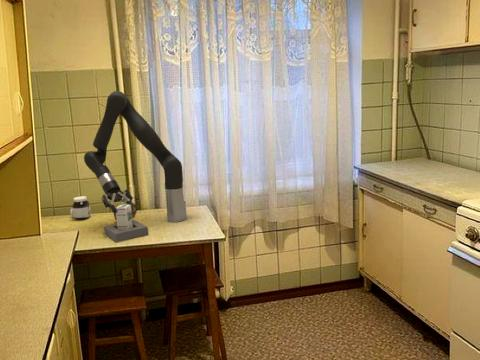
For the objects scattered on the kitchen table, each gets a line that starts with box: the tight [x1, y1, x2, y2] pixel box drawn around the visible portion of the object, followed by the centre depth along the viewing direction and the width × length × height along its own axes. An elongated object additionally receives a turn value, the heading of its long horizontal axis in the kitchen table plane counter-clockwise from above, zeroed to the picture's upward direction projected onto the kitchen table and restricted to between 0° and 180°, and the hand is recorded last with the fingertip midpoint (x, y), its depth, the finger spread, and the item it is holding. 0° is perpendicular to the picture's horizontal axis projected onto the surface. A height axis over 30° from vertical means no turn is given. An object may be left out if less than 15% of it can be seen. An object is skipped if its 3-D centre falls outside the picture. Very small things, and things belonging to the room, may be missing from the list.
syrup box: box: [115, 203, 134, 231], centre depth 243 cm, size 6×6×14 cm
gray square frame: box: [103, 219, 149, 243], centre depth 244 cm, size 16×16×4 cm
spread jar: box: [70, 195, 92, 221], centre depth 276 cm, size 12×11×12 cm
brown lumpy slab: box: [113, 202, 138, 222], centre depth 269 cm, size 15×3×8 cm, turn 148°
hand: (123, 210), depth 241 cm, fingers open, 8 cm apart
